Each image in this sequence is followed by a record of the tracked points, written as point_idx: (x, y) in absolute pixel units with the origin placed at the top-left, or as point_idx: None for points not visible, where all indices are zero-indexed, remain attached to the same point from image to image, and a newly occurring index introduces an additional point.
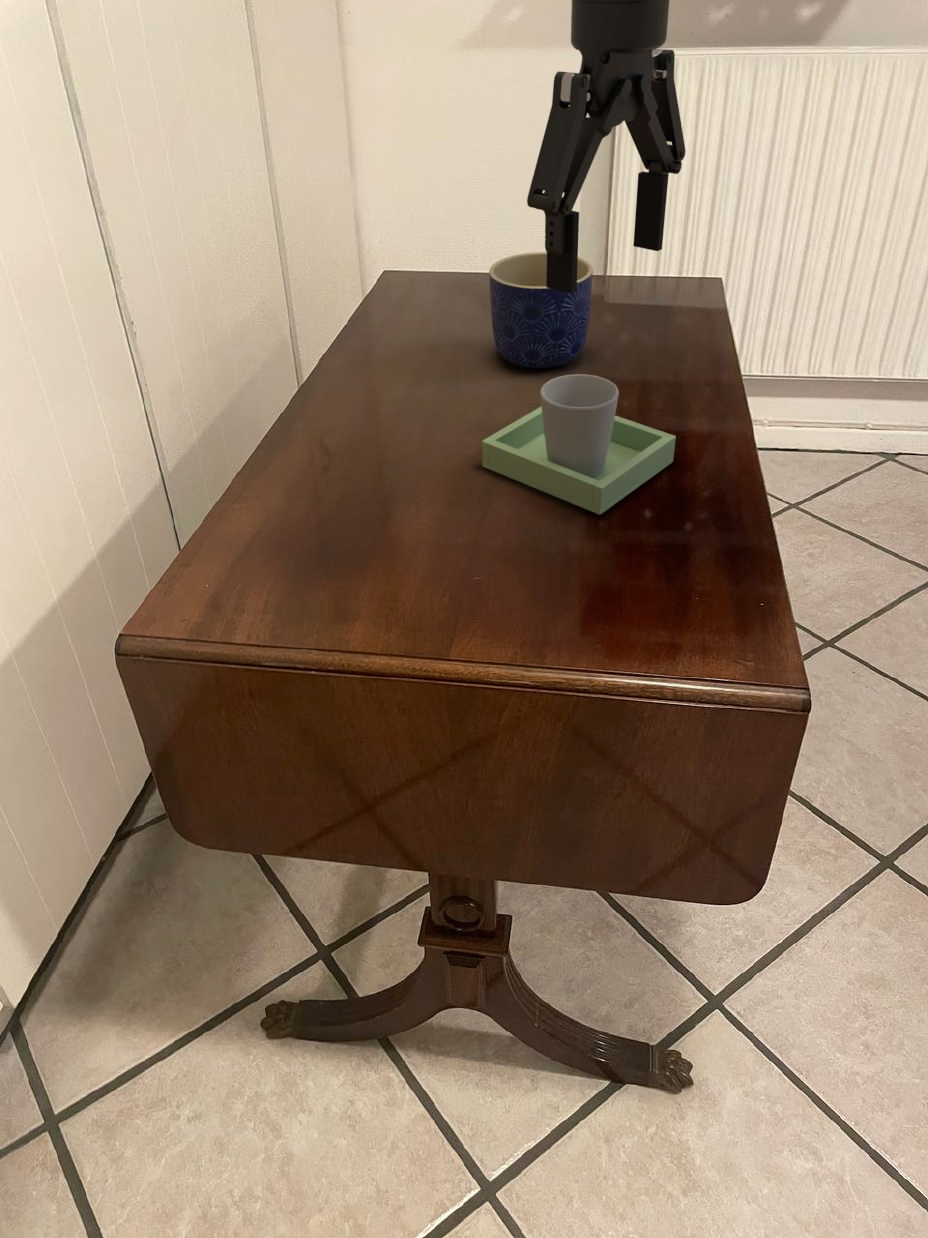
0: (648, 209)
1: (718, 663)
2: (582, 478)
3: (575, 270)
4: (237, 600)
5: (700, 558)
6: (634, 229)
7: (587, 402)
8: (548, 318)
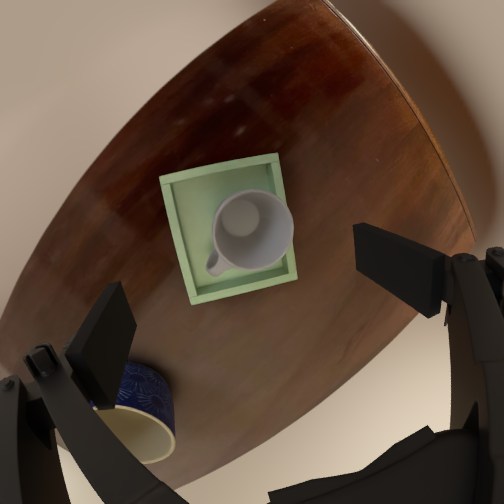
0: (114, 338)
1: (323, 15)
2: (279, 174)
3: (374, 231)
4: (450, 235)
5: (255, 68)
6: (132, 340)
7: (222, 242)
8: (144, 391)
